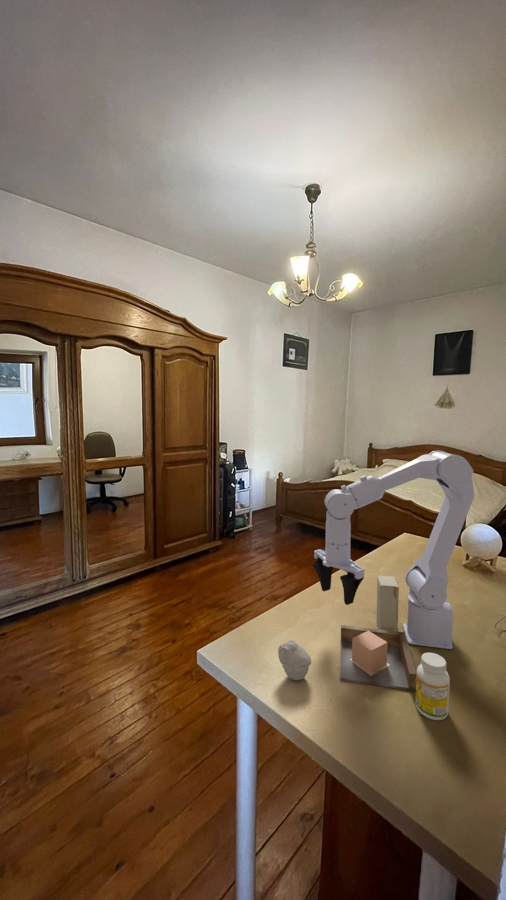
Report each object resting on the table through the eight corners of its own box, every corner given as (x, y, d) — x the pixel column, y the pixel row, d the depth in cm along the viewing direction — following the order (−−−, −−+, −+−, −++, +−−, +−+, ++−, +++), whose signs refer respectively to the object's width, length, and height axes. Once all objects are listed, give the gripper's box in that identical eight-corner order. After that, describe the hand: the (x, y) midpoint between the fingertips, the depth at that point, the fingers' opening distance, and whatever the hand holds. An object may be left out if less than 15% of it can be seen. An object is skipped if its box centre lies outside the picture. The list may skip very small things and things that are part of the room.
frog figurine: (285, 662, 81) (285, 631, 81) (316, 673, 78) (316, 641, 77) (272, 680, 76) (272, 647, 76) (304, 692, 73) (305, 658, 72)
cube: (367, 652, 84) (368, 630, 83) (386, 664, 80) (387, 642, 79) (351, 660, 81) (352, 638, 81) (370, 673, 77) (371, 650, 76)
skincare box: (398, 636, 90) (399, 587, 89) (379, 634, 91) (380, 586, 90) (393, 621, 97) (395, 575, 95) (375, 620, 97) (377, 574, 96)
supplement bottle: (443, 726, 65) (446, 674, 64) (411, 710, 68) (413, 660, 67) (451, 707, 69) (454, 658, 68) (420, 693, 72) (422, 646, 71)
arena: (404, 646, 86) (404, 632, 86) (415, 691, 73) (416, 674, 72) (340, 638, 90) (341, 624, 89) (340, 680, 76) (340, 663, 76)
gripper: (304, 535, 93) (304, 588, 95) (348, 554, 81) (347, 615, 82) (326, 530, 97) (325, 581, 98) (371, 548, 85) (369, 605, 86)
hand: (337, 596), depth 91 cm, fingers open, 7 cm apart
